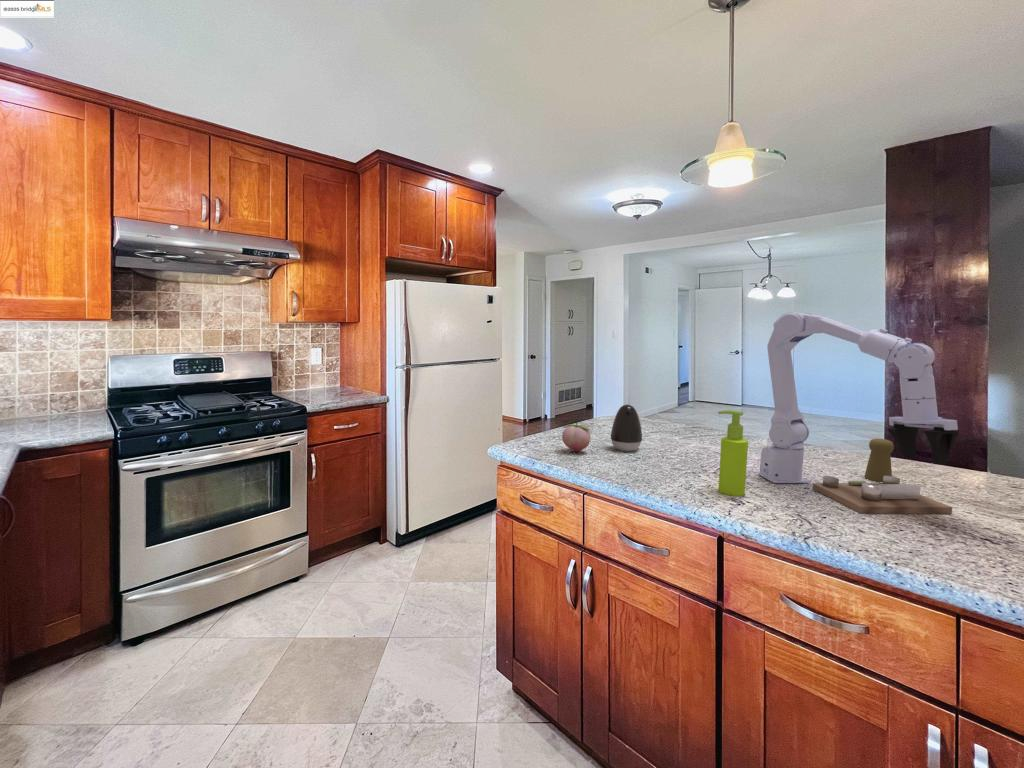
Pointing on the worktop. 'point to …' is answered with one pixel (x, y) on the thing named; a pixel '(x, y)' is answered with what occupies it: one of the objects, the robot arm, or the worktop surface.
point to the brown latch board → (852, 498)
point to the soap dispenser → (733, 458)
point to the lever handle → (889, 491)
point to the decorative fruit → (576, 437)
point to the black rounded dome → (626, 429)
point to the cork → (879, 460)
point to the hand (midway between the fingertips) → (924, 460)
